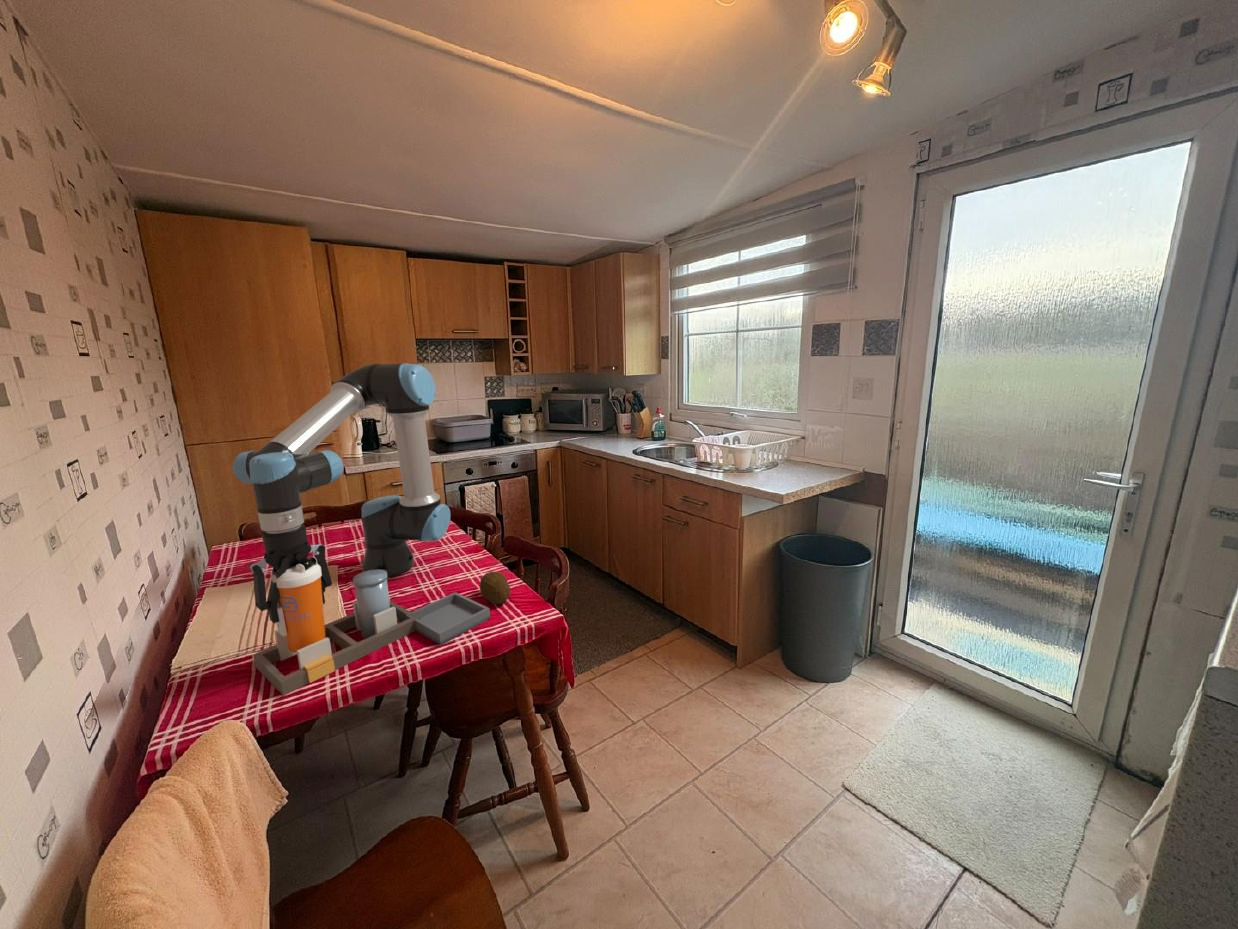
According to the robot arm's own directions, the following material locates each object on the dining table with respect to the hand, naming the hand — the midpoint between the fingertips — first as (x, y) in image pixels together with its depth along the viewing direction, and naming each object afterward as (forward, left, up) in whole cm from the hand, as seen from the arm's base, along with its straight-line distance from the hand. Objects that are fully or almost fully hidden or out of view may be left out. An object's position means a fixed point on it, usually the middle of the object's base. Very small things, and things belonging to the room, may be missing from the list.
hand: (301, 626), depth 105 cm
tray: (+11, +29, -9) cm, 32 cm away
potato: (+11, +44, -9) cm, 46 cm away
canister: (0, +16, -9) cm, 18 cm away
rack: (0, +8, -9) cm, 12 cm away
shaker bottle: (0, +1, -5) cm, 5 cm away
